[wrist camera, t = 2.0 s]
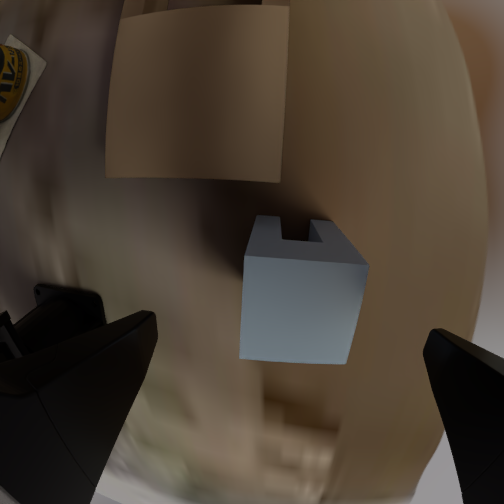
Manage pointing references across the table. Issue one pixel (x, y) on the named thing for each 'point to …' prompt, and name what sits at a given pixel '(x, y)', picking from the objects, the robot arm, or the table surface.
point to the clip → (300, 294)
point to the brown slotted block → (198, 92)
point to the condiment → (16, 82)
